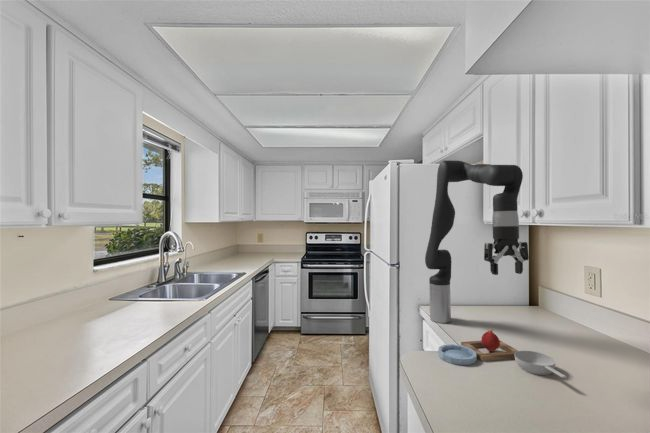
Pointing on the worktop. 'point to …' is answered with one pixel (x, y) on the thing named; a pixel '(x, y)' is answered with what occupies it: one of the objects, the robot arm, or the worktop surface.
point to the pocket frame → (491, 356)
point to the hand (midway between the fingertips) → (506, 274)
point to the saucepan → (536, 363)
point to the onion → (490, 341)
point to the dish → (457, 354)
